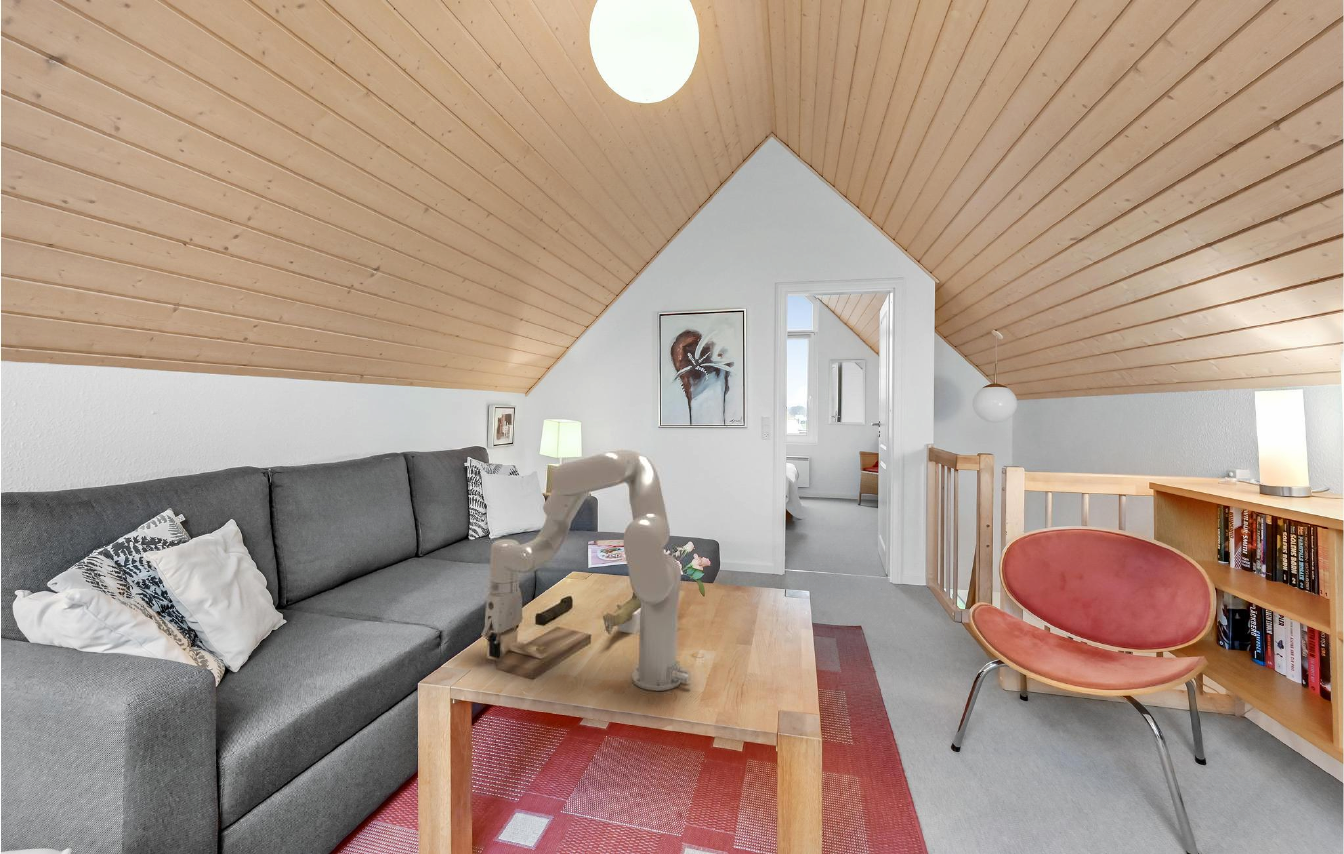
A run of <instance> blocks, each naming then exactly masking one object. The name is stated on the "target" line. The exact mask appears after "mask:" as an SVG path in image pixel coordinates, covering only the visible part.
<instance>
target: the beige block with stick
mask: <svg viewBox="0 0 1344 854" xmlns="http://www.w3.org/2000/svg"><path fill="white" fill-rule="evenodd" d="M518 634H519V632H518V629H517V630H514V629H509V630H507V631H505V632H502V633H500V638H499V643H500V657H502V656H504V655H505V654H507V653H509V652H511V651H514V652H518V653H522V654H526V655H529V656H533V657H537V658H541V659H542V658H543V657H545V656H546V646H542V645H541V646H539V647H537V646H533V645H529V644H526V643H525V642H521V641H518ZM495 635H496V633H494V635H493V636H494V637H495ZM486 640H487V639H486ZM486 644H487V645H486V658H487V659H489V660H493V661H496V659H498V658H495V657H491V656H489V646H490V642H488V640H487V643H486ZM500 657H499V658H500Z"/></svg>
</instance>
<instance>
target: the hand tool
mask: <svg viewBox="0 0 1344 854" xmlns="http://www.w3.org/2000/svg"><path fill="white" fill-rule="evenodd" d="M573 600H574V599H573V597H572V596H571V595H569V596H568V595H567V596H565V597H562V598H561V599H560V602H559V603H558V602H557V604H555V605H553V606H551V607H550V608H547V609H545V610H544V611H541V612H537V613H535V617H534V621H535V623H536V625H538V626H545V625H546V624H548V622H550V621H551V620H553V619H554V618H556V617H558V616H560V615H561V614H564V613H566V614H567V613H568V612H569V611H571V609H572V608H573V606H574V603H573V602H574V601H573Z"/></svg>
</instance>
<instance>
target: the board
mask: <svg viewBox="0 0 1344 854" xmlns="http://www.w3.org/2000/svg"><path fill="white" fill-rule="evenodd" d="M591 643H592V634H591V633H587V632H582V631H579V630H574V629H570V628H565V627H561V626H556V627H554V628H552V629H550V630H548V631H546V632H545V633H542V634H541V635H539V636H537V637H536V638H534V639H531V640H530V641H528V642H526V643H525V644H529V645H533V646H537V647H539V646H541V645H542V646H546V656H545V657H543V658H542V659H541V658H537V657H533V656H529V655H526V654H522V653H518V652H514V651H511V652H509V653H507V654H505V655H504V656H502V657H500V658H498V659H496V660H495V662H496V663H495V669H496V670H499V671H503V672H505V673H509V674H513V675H516V676H519V677H523V678H526V679H530V680H535V679H537V678H538V677H540V676H541V675H543V674H544V673H546V672H547V671H549V670H550V669H552V668H554V667H555V666H557V665H559V664H560V663H561V662H563V661H565V660H566V659H568V658H570V657H571V656H572V655H574V654H576V653H578V652H579V651H580V650H582V649H583V648H585V647H586V646H588V645H589V644H591Z"/></svg>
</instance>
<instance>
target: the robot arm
mask: <svg viewBox="0 0 1344 854" xmlns="http://www.w3.org/2000/svg"><path fill="white" fill-rule="evenodd" d="M550 479H551V485H552V488H553V489H552V490H551V492H550V494H549V495H548V497H547V498H546V500H545V502H544V504H543V506H542V508H543V509H542V511H543V512H544V514H545V515H546V519H545V521H544V524H543V526H542V527H541V529H540V530H539V532H538V534H537V536H536V537H535V538H534V539H533V540H530V541H528V542H525V543H523V544H520V543H519V541H517V540H514V539H510V538H509V539H506V538H505V539H498V540H495V541H493V542H492V544H491V546H490V564H489V576H490V577H489V587H488V591H489V593H488V595H487V600H486V605H485V613H484V614H485V618H484V628H483V630H482V632H481V636H482V637H484V638H485V639H486V640H488V642H490V646H489V656H491V657H495V658H499V657H500V643H499V638H500V633H502V632H505V631H507V630H509V629H514V630H518V628H519V626H520V624H521V623H522V621H523V620H524V619H523V617H524V616H523V598H522V593H521V588H519V583H520V582H519V581H520V580H519V579H520V573H521V574H530V573H534V572H535V571H536V570H539V569H540V568H542V567H544V566H545V565H547V564H548V563H550V562H551V561H552V560H553V559H554V558H555V556H556V555H557V553H558V551H560V549H561V547H562V545H563V544H564V542H565V540H566V538H567V536H568V534H569V532H570V529H571V525H572V521H573V520H574V518H575V517H576V515H577V513H578V511H579V510H580V508H581V507H582V505H583V503H584V502H585V500H586V498H587V497H588V495H589V494H590V493H592V492H595V491H600V490H604V489H608V488H612V487H616V486H618V485H621V484H624V483H625V484H626V485H627V486H628V496H629V497H628V499H629V504H630V509H631V514H632V515H631V516H632V521H631V522H630V523H629V524H628V525H627V527H626V528H625V530H624V534H623V549H624V555H625V561H626V567H627V572H628V577H629V583H630V585H631V589H632V593H633V592H634V594H635V595H636V597H637V598H638V599H639V600H640V601H641V612H640V630H639V638H638V639H639V641H638V642H639V643H638V645H639V646H638V667H637V668H635V669H634V670H633V671H632V673H631V681H632V683H634V684H635V685H636V686H637V687H639V688H641V689H645V690H649V691H657V692H659V691H660V692H661V691H669V690H672V689H675V688H676V687H678V686H679V685H680V684H681V683H682V682H683V683H689V682H690V680H691V674H690V670H689V669H685V668H681V667H680V665H681V663H680V662H681V661H679V660H677V650H678V649H677V647H678V644H677V642H678V618H679V601H680V591H681V590H680V589H681V583H682V582H681V580H682V571H681V567H680V565H679V562H678V561H677V560H676V558H675V557H673V556H672V555H670V554H667V553H665V551H664V547H665V546H666V544H668V542H669V539H670V535H671V531H670V525H669V522H668V517H667V511H666V507H665V501H664V497H663V492H662V487H661V486H662V485H661V481H660V478H659V475H658V471H657V470H656V467H655V465H654V463H653V462H652V461H651V460H650V459H649V458H647V457H646V456H645V455H644V454H642V453H639V452H637V451H633V450H628V449H617V450H614V451H613V450H612V451H607V452H602V453H599V454H595V455H591V456H587V457H583V458H581V459H576V460H571V461H567V462H566V461H565V462H564V463H561V464H560V465H558V466H557V467H556V468H555V469H554V470H553V472H552V475H551V478H550ZM494 633H496V635H495V637H494V636H493V635H494Z"/></svg>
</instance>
